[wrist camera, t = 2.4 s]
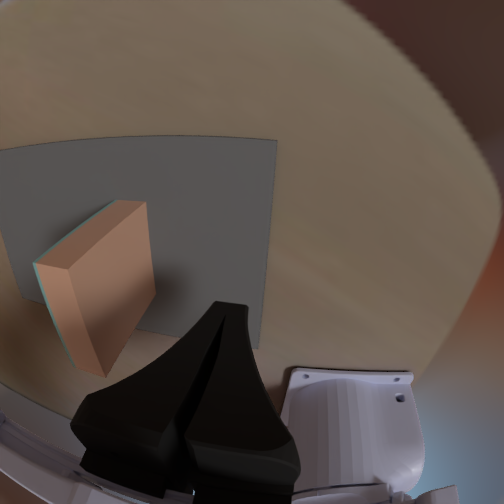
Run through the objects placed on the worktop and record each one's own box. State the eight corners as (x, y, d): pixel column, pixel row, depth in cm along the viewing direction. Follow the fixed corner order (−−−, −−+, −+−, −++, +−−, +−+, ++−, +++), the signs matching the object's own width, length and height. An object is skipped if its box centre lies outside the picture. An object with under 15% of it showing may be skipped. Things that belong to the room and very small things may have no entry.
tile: (146, 201, 15) (67, 269, 9) (156, 293, 18) (105, 378, 12) (115, 199, 16) (32, 262, 10) (128, 288, 19) (73, 366, 12)
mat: (277, 140, 14) (277, 141, 13) (258, 346, 20) (257, 349, 19) (-11, 152, 15) (-14, 153, 15) (24, 295, 21) (22, 297, 21)
